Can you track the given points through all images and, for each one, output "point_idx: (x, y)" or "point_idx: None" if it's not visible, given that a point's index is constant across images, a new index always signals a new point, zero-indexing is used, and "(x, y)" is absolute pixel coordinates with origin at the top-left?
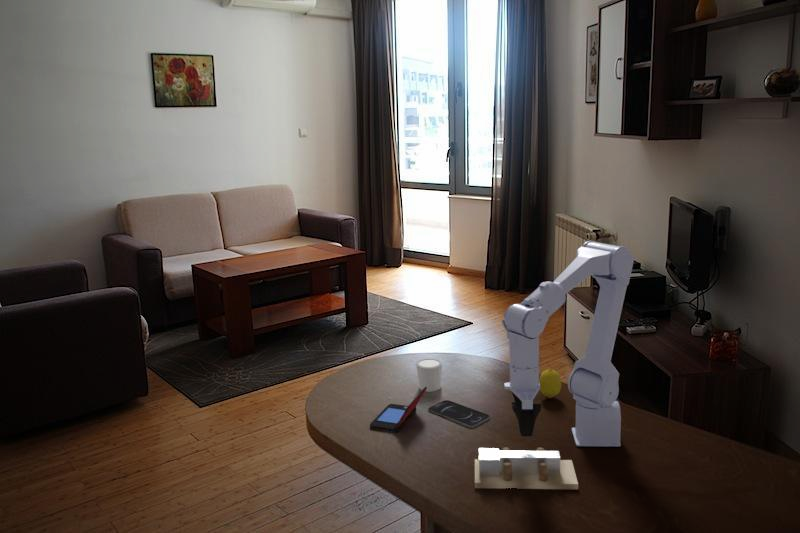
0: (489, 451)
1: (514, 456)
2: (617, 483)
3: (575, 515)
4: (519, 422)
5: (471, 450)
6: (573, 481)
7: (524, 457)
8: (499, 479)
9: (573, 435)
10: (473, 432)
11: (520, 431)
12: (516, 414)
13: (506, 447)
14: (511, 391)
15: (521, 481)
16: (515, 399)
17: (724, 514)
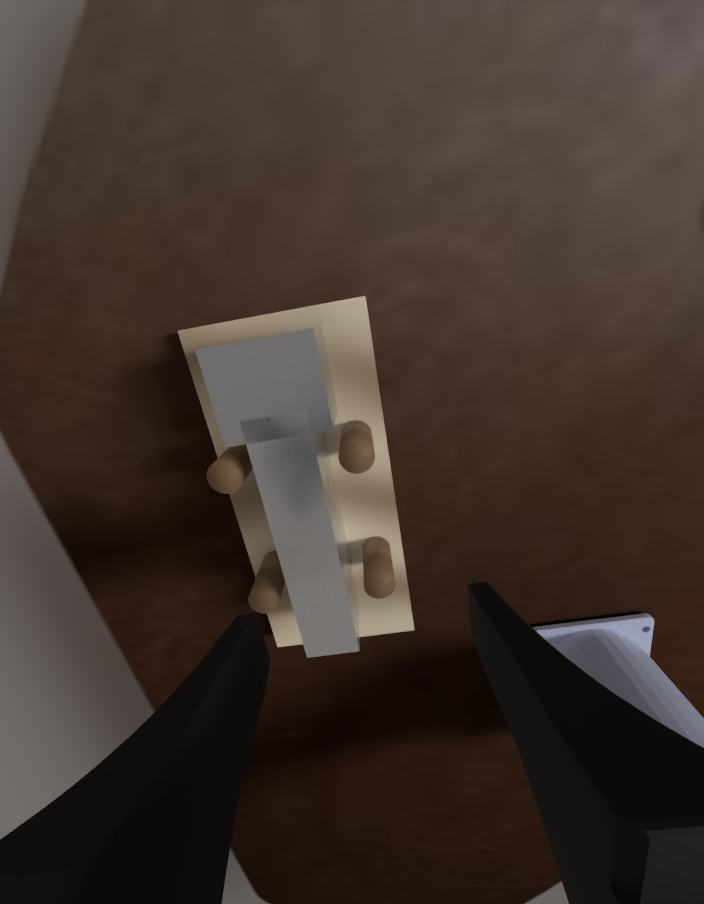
0: (292, 389)
1: (275, 506)
2: (336, 707)
3: (155, 628)
4: (165, 707)
5: (485, 257)
6: (288, 636)
7: (277, 544)
8: None
9: (597, 621)
10: (666, 233)
11: (219, 638)
12: (59, 801)
13: (374, 456)
14: (585, 777)
15: (242, 499)
16: (533, 697)
17: (266, 844)
